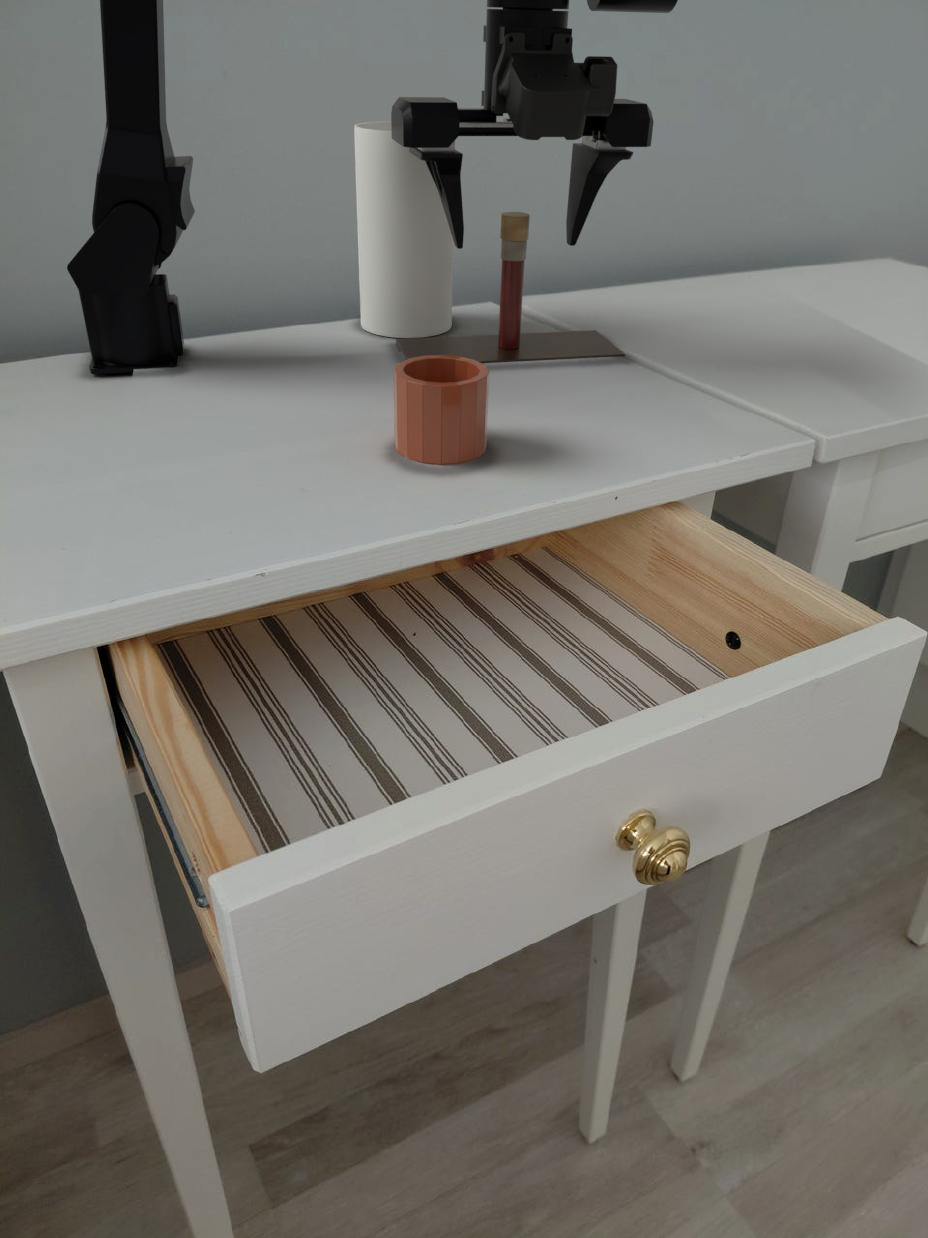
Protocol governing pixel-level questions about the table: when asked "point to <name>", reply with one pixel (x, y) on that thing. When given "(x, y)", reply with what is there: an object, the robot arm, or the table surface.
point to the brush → (512, 277)
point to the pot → (441, 409)
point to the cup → (400, 239)
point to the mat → (529, 350)
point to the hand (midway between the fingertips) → (515, 246)
